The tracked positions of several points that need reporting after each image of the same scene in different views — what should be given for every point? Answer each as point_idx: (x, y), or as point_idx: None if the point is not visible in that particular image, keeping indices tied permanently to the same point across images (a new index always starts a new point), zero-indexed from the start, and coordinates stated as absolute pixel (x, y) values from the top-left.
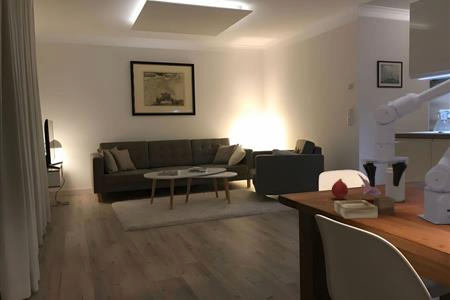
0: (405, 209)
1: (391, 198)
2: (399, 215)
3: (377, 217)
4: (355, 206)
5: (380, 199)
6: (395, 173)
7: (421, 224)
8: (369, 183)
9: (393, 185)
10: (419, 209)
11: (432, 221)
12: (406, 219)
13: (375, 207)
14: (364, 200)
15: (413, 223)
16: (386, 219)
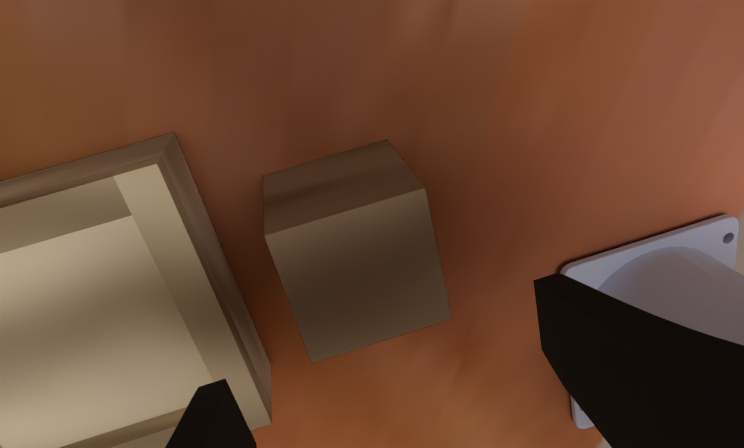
0: (563, 42)
1: (433, 296)
2: (444, 263)
3: (269, 365)
4: (74, 346)
5: (314, 361)
6: (661, 445)
7: (502, 431)
8: (185, 416)
9: (534, 284)
10: (680, 23)
11: (575, 411)
12: (457, 354)
13: (253, 428)
14: (159, 182)
15: (466, 425)
16: (326, 385)
